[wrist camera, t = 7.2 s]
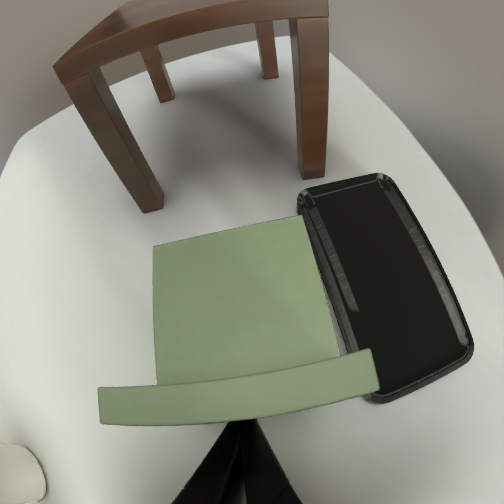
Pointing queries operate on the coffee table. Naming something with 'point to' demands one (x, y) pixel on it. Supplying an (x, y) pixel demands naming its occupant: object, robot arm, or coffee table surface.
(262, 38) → the walnut table
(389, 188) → the phone
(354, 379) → the chair
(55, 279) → the coffee table surface
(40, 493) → the drinking glass
